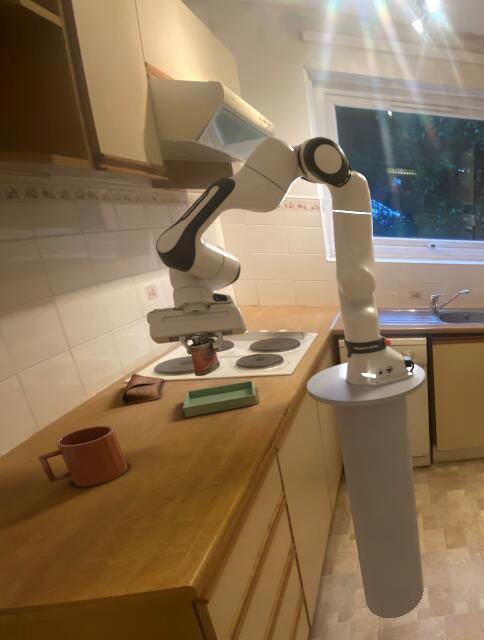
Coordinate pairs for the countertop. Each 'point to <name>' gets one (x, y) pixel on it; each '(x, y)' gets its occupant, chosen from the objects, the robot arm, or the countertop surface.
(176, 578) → the countertop surface
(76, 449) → the mug
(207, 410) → the tray
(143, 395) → the sunglasses case
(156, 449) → the countertop surface
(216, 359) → the lighter
